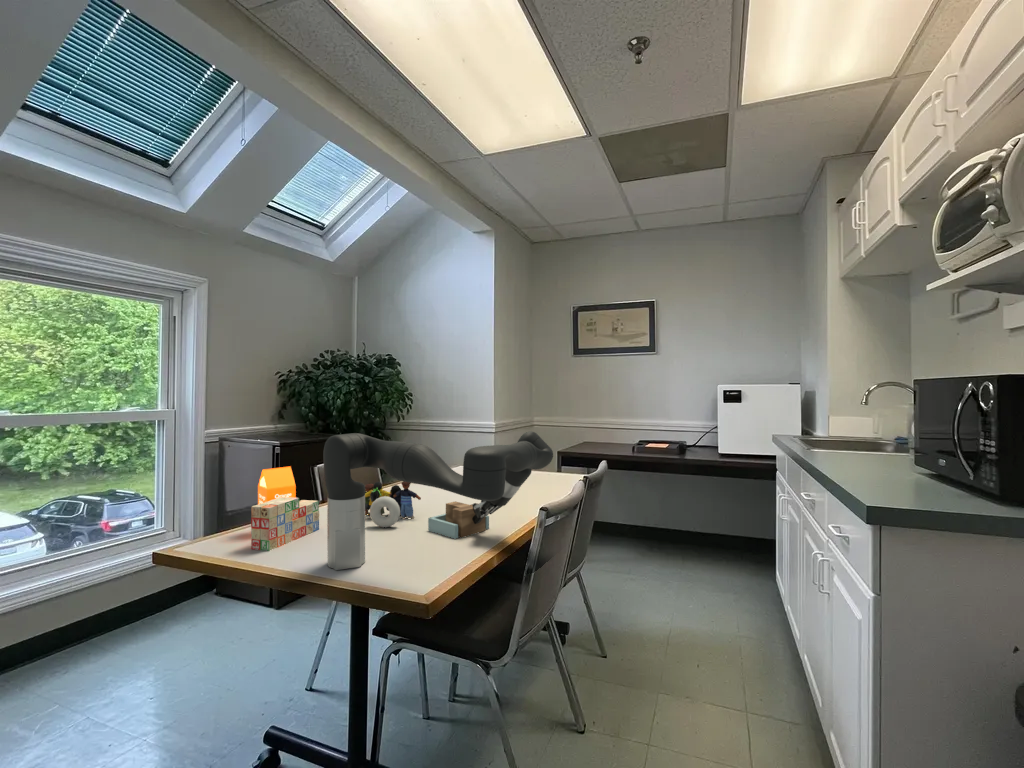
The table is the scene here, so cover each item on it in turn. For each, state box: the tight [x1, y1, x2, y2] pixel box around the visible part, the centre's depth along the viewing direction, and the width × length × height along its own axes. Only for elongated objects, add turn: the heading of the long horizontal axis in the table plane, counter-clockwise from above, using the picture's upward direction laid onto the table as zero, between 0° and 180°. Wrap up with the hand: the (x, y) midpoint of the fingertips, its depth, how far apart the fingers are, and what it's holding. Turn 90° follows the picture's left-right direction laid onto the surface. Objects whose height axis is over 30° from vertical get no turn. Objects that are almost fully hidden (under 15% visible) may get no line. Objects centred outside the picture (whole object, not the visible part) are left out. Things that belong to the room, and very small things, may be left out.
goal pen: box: [427, 513, 490, 540], centre depth 155 cm, size 13×14×4 cm
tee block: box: [445, 501, 486, 538], centre depth 155 cm, size 11×10×8 cm
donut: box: [369, 496, 401, 528], centre depth 158 cm, size 10×4×10 cm, turn 84°
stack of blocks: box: [250, 497, 320, 552], centre depth 147 cm, size 21×6×12 cm, turn 164°
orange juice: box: [257, 465, 297, 505], centre depth 154 cm, size 8×9×20 cm
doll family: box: [365, 481, 422, 519], centre depth 171 cm, size 23×9×13 cm, turn 91°
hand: (475, 521), depth 150 cm, fingers closed
